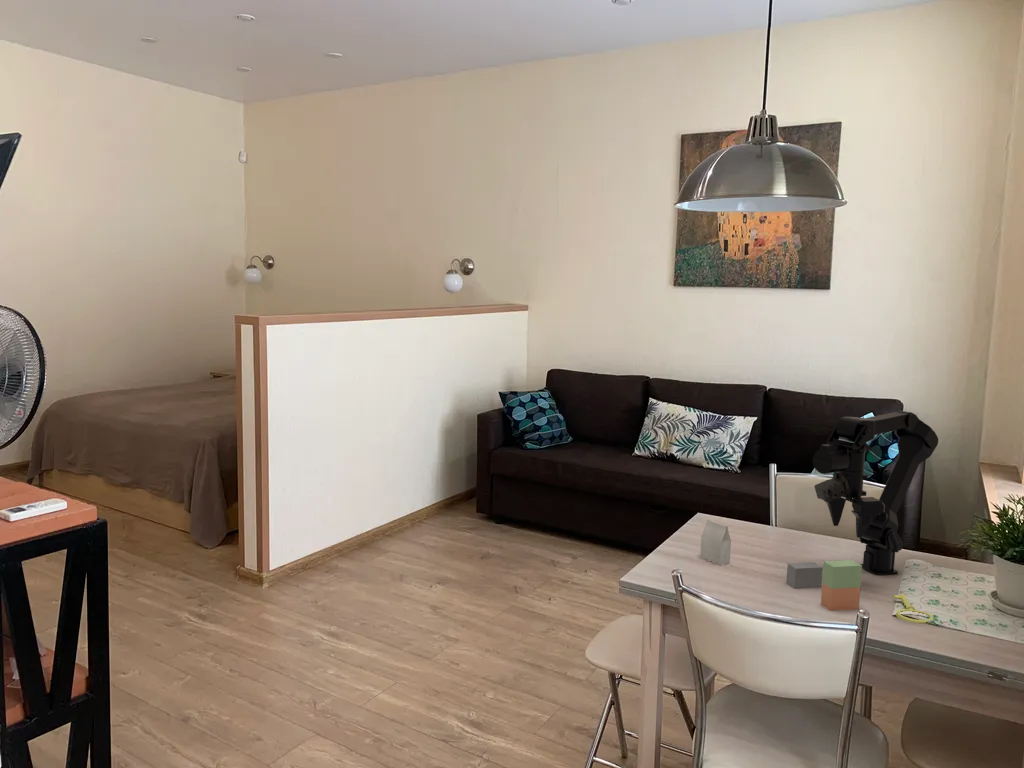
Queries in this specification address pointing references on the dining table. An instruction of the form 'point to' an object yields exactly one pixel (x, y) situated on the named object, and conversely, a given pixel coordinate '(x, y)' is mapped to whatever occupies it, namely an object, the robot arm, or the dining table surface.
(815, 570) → the gray brick
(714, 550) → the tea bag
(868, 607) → the dining table surface
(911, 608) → the key
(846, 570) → the green brick
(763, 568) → the dining table surface
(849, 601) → the rust brick
